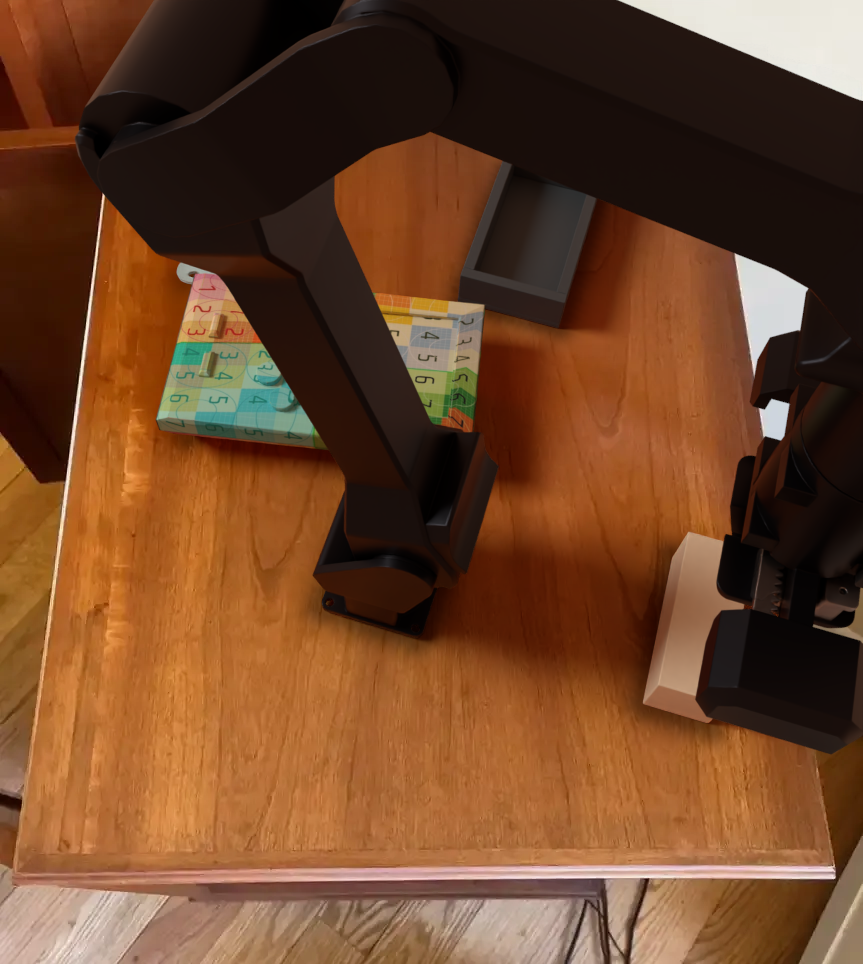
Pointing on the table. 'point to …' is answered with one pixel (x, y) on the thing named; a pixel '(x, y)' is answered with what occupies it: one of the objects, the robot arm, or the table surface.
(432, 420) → the puzzle game
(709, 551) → the block
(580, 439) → the table surface
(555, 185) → the tray
